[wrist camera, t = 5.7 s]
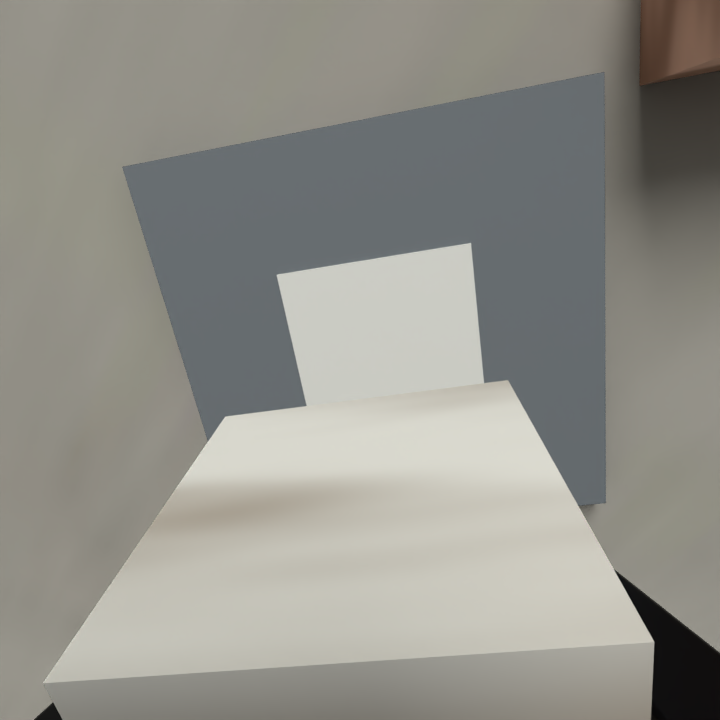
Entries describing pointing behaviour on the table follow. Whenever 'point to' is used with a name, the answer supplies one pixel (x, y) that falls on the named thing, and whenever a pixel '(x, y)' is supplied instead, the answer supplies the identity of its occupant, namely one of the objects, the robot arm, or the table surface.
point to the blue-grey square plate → (397, 263)
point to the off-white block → (366, 579)
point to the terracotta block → (678, 39)
